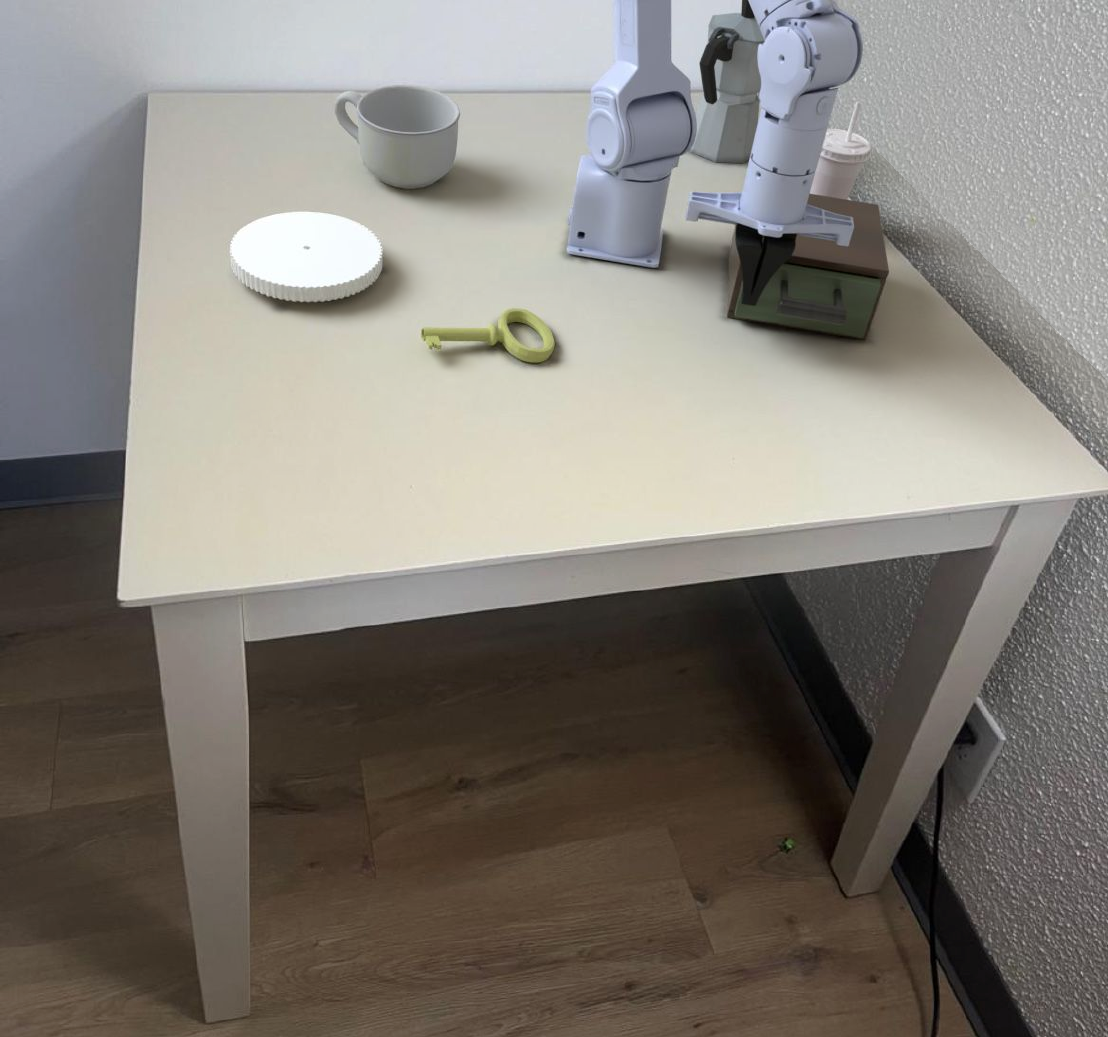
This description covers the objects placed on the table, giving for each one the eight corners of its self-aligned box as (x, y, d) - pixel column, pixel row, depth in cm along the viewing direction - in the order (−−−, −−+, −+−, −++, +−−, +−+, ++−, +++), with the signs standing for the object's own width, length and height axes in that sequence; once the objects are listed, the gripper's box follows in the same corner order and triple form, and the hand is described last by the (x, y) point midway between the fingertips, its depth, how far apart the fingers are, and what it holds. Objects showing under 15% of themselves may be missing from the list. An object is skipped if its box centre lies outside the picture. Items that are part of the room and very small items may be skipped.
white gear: (221, 240, 114) (219, 216, 112) (363, 229, 118) (363, 206, 116) (244, 318, 104) (242, 294, 103) (397, 303, 109) (398, 280, 107)
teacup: (475, 176, 130) (480, 106, 124) (415, 210, 122) (417, 137, 117) (376, 136, 134) (377, 67, 129) (313, 167, 127) (310, 94, 122)
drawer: (866, 367, 108) (885, 313, 104) (733, 345, 108) (747, 291, 104) (855, 273, 121) (871, 222, 117) (736, 253, 121) (748, 202, 117)
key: (413, 347, 104) (414, 327, 102) (526, 314, 110) (528, 295, 108) (456, 390, 100) (458, 370, 98) (571, 354, 106) (574, 334, 104)
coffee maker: (715, 120, 148) (746, -29, 136) (775, 144, 145) (813, -7, 133) (652, 155, 138) (679, -2, 126) (716, 182, 135) (750, 23, 123)
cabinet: (865, 340, 113) (889, 271, 108) (726, 317, 113) (743, 247, 108) (857, 270, 123) (878, 204, 118) (729, 249, 123) (745, 182, 118)
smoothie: (846, 242, 127) (884, 118, 118) (788, 231, 128) (821, 107, 119) (847, 216, 132) (884, 95, 123) (791, 205, 133) (823, 84, 123)
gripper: (697, 167, 97) (668, 308, 106) (871, 195, 96) (828, 335, 105) (700, 133, 102) (673, 270, 111) (865, 159, 102) (825, 295, 111)
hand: (748, 299), depth 109 cm, fingers closed, pressing on drawer
